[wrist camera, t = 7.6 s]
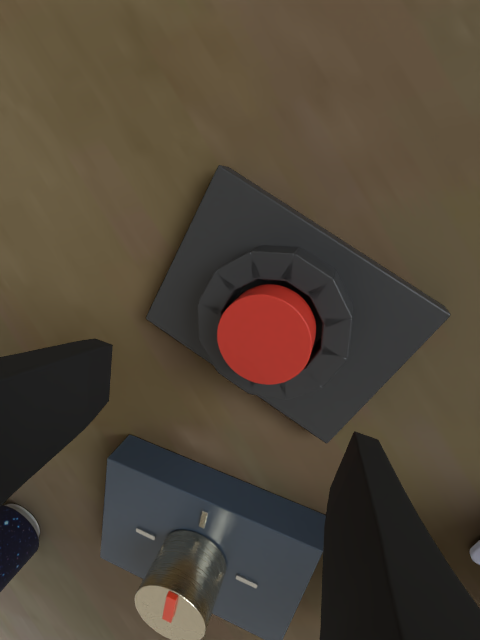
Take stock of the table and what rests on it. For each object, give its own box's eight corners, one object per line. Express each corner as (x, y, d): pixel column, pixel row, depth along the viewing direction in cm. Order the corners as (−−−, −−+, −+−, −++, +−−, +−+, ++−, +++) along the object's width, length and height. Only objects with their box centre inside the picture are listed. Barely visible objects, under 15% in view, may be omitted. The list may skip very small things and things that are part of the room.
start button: (335, 318, 15) (332, 332, 13) (284, 382, 17) (277, 402, 15) (257, 266, 15) (245, 274, 14) (215, 334, 17) (201, 349, 15)
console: (326, 515, 22) (323, 554, 20) (285, 607, 26) (278, 650, 23) (129, 433, 25) (105, 459, 22) (119, 528, 29) (98, 559, 26)
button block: (445, 306, 16) (463, 330, 13) (328, 430, 20) (324, 468, 17) (227, 166, 17) (202, 161, 14) (155, 312, 21) (125, 330, 18)
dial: (220, 591, 23) (196, 661, 20) (161, 562, 24) (128, 625, 21) (232, 548, 22) (209, 617, 18) (168, 519, 23) (134, 579, 19)
